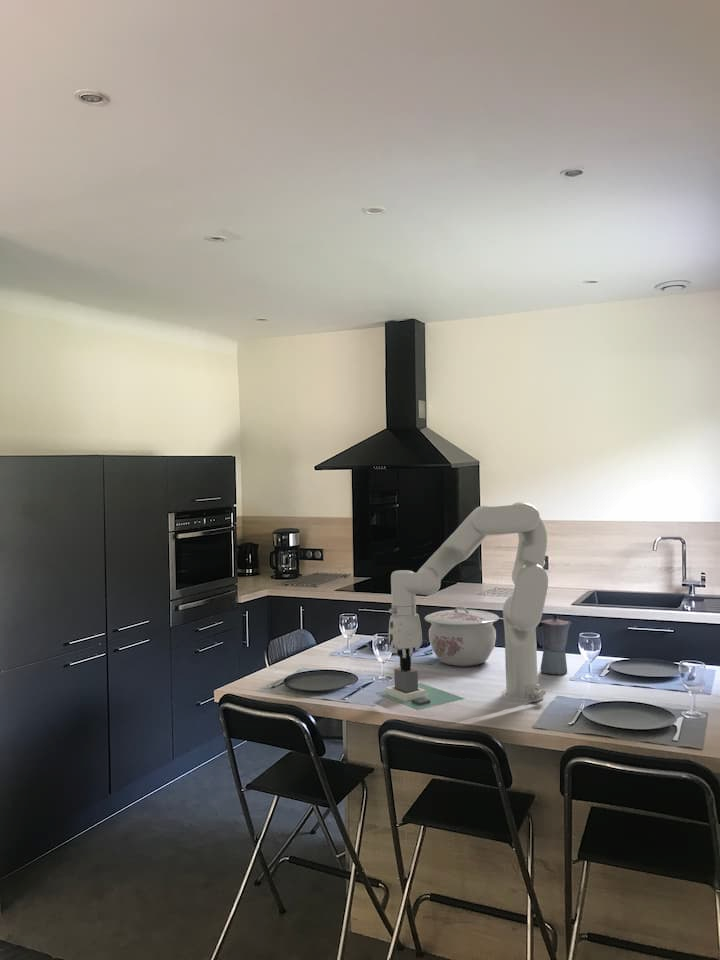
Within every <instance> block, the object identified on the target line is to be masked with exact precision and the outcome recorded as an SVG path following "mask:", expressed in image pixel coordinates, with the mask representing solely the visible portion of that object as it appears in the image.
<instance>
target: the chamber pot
mask: <svg viewBox="0 0 720 960" xmlns="http://www.w3.org/2000/svg"><path fill="white" fill-rule="evenodd" d="M499 619H500V616H499V615H497V614H496V613H493V612H490V611H484V610H478V609H467V608H466V607H464V606H461V605H459V606H457V607H456V608H454V609H447V610H440V611H435V612H432V613H429V614H426V615H425V617H424V620H425V622H427V623H430V624H431V625H430V628H429V629H428V638H429V639H428V640H429V643H430V647H431V650H432V651H433V652H434V654H435V657H436V659H438V660H439V661H440V662H441V663H444V664H446V665H449V666H452V667H462V668H463V667H464V668H465V666H466V667H474V665H475V666H479V665H481V664H483V663H485V662H487V660H488V659H489V658H490V655H491V654H492V652H493V650H494V648H495V646H496V645H495V644H496V640H497V630H496V628H495V627H494V625H493V623H495V622H497V621H499Z"/></svg>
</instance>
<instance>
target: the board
mask: <svg viewBox="0 0 720 960" xmlns="http://www.w3.org/2000/svg"><path fill="white" fill-rule="evenodd" d="M375 694H377V695H379V696H382V697H383V698H386V699H389V700H392V701H394V702H397V703H399V704H402V705H404V706H407V707H409V708H411V709H415V710H418V711H420V710H424V709H427V708H432V707H436V706H441V705H444V704H449V703H453V702H456V701H457V702H458V701H461V700H465V698H466V697H465V698H464V697H462V696H459V695H457V694H453V693H451V692H448V691H445V690H442V689H439V688H436V687H433V686H431V685H428V684H424V683H422V682H420V683H419V682H418V691H414V692H410V693H403V692H401V691H398V690H395V685H391V686H386V687H385V690H383V691H378V692H375Z"/></svg>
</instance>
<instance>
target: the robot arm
mask: <svg viewBox="0 0 720 960" xmlns="http://www.w3.org/2000/svg"><path fill="white" fill-rule="evenodd" d="M546 529H547V528H546V526H545V524H544V522H543V520H542V518H541V516H540V512H539V510H538V509H537V507H536V506H535V505H533V504H530V503H528V502H527V503H526V502H523V501H519V502H518V501H517V502H515V503H513V504H509V505H498V506H488V505H479V506H477V507H476V508H475V509H474V510H473V511H471V512H470V513H469V515H467V517H466V518H464V520H463V521H462V523H460V524H459V525H458V527H457V528H456V529H455V530H454V531H453V533H451V534H450V535H449V537H448V538H446V540H445V541H443V543H442V544H441V545H440V547H438V548H437V550H435V552H433V554H432V555H431V556H430V557H429V558H428V559H427V560H426V562H425V563H423V565H422V566H421V567H420V568H418V570H417V572H414V571H413V570H407V569H405V570H404V569H403V570H401V569H399V570H395V571H392V573H391V575H390V587H391V588H390V591H391V608H389V610H388V611H389V613H390V614H391V615H390V617H389V621H388V622H389V624H388V646H389V647H390V649H389V653H392V654H397V656H398V658H399V666H400V667H399V668H401V669H402V670H405V671H408V670H411V669H412V668H411V667H412V659H411V658H412V657H413V656H414V653H415V651H417V650H418V649H420V648H421V646H422V644H423V634H422V633H423V631H422V626H421V625H422V624H421V619H420V615H419V613H417V600H416V599H417V595H423V596H431V595H432V596H433V595H435V594H436V593H438V592H439V590H440V588H441V585H442V584H441V583H442V582H441V581H442V580H443V579H444V577H445V576H446V575H448V573H449V572H450V571H452V569H453V568H454V567H455V566H457V565H458V564H460V563H462V562H463V561H465V560H467V559H468V558H469V557H470V556H472V554H473V553H474V552H475V551H476V549H478V547H479V546H480V545H481V544H482V543H483V542H484V541H485V540H486V539H487V537H488V536H495V535H497V536H498V535H507V534H508V535H509V534H517V535H518V544H517V551H516V557H515V559H514V565H513V569H512V572H511V573H512V574H511V579H512V582H513V584H514V589H513V593H512V595H510V596H509V597H507V599H506V600H505V601H504V603H503V607H502V617H503V627H504V628H503V629H504V631H503V632H504V653H505V654H504V657H505V686H506V687H505V689H504V690H502V691H501V695H502V696H504V697H506V698H509V699H513V700H517V699H518V700H524V701H525V700H526V701H527V700H535V701H533V703H534V702H535V703H536V702H539V701H542V699H543V698H544V696H546V694H547V691H546V690H544V689H541V684H540V683H538V659H537V658H538V654H537V651H538V650H537V649H538V648H537V641H536V633H537V627H539V626H538V624H539V622H541V621H542V617H543V612H544V607H545V604H546V599H547V594H548V589H549V576H548V573H547V571H546V570H545V568H544V564H545V560H546V559H545V558H546V552H547V544H548V536H547V534H548V533H547V530H546Z"/></svg>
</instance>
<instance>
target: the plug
mask: <svg viewBox="0 0 720 960" xmlns="http://www.w3.org/2000/svg"><path fill="white" fill-rule="evenodd" d="M393 671H394V674H393V675H394V686H395V690H398V691H401V692H403V693H410V692H414V691H418V683H419V679H418V678H419V677H418V675H419V673H418V670H417V669H414V668H411V670H408V671H405V670H402V669H401V667H398V668H394V669H393Z"/></svg>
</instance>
